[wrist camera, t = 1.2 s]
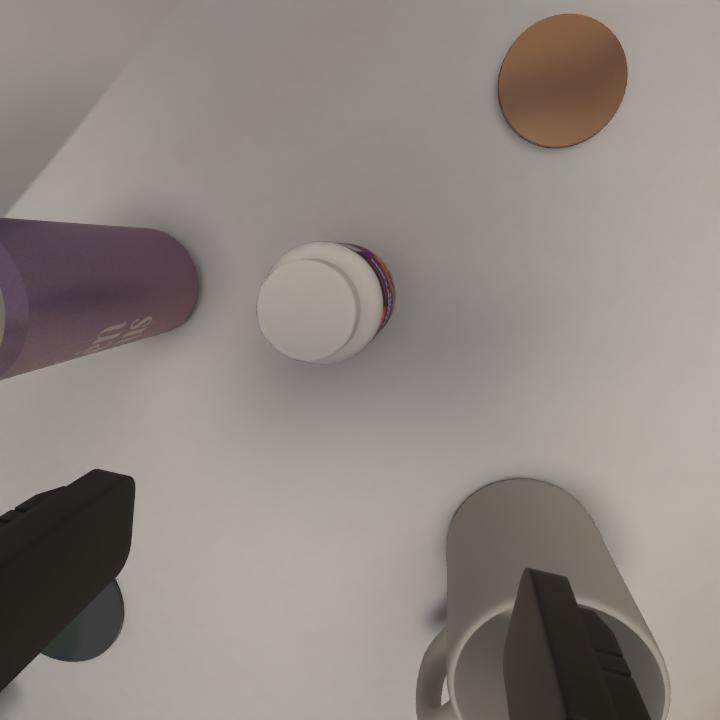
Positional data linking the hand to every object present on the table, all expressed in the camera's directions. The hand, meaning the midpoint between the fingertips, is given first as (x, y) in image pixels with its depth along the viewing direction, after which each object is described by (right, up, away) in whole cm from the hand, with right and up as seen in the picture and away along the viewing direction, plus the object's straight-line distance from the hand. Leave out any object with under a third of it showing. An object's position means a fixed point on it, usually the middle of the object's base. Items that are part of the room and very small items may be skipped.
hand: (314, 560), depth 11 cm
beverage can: (-11, +9, +22) cm, 26 cm away
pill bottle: (0, +8, +20) cm, 22 cm away
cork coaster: (+11, +18, +16) cm, 26 cm away
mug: (+9, -8, +22) cm, 25 cm away
